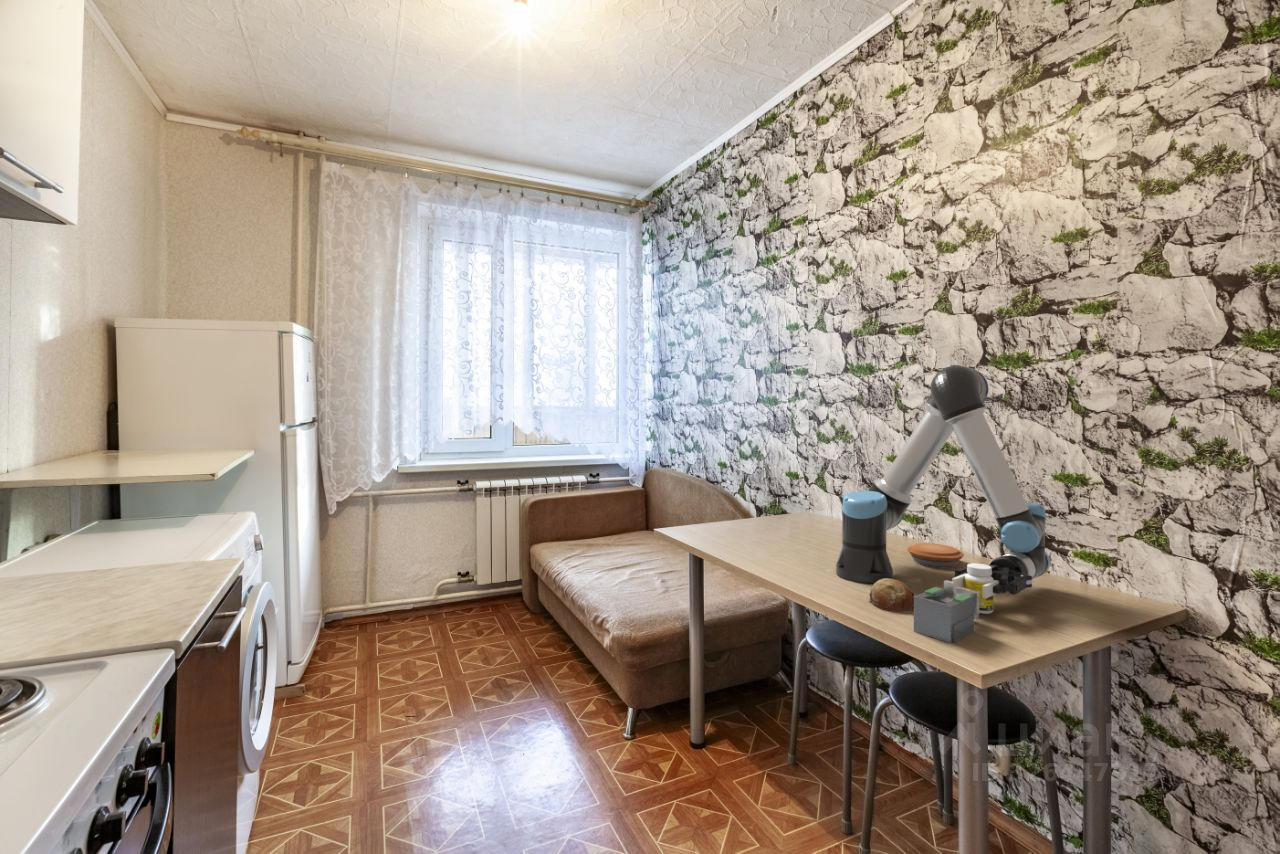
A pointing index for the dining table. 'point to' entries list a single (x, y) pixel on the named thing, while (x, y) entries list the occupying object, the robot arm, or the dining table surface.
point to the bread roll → (891, 595)
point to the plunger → (954, 591)
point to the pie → (935, 554)
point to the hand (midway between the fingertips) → (968, 588)
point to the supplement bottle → (980, 584)
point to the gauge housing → (943, 615)
